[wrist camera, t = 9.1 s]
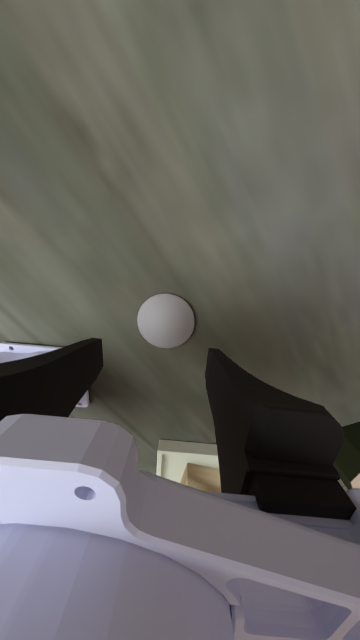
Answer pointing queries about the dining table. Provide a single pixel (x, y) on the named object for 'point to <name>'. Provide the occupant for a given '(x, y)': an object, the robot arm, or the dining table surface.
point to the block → (202, 478)
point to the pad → (166, 320)
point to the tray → (183, 457)
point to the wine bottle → (349, 457)
